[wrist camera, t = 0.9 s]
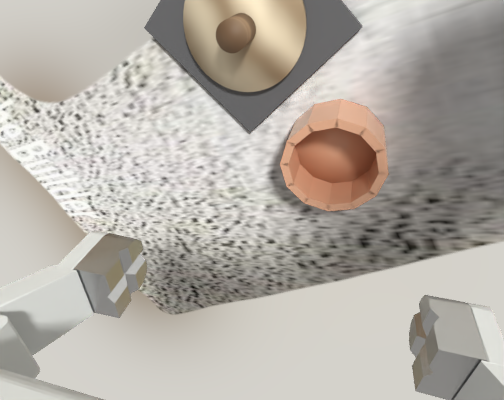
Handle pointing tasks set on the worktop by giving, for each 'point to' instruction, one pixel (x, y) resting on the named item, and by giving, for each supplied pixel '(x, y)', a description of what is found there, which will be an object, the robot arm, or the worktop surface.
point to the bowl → (335, 156)
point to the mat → (265, 101)
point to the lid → (245, 40)
